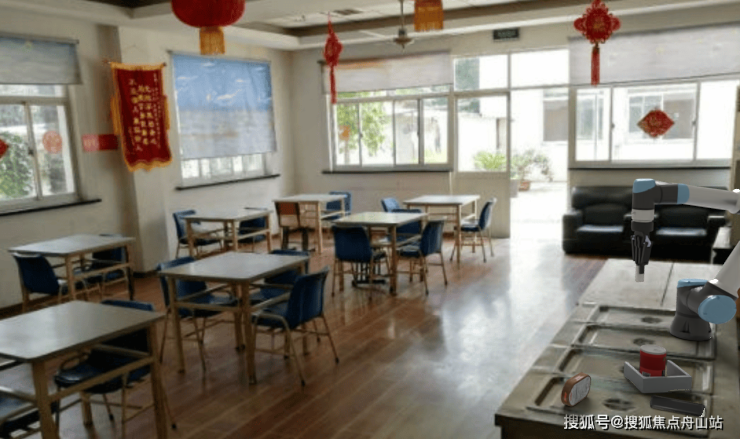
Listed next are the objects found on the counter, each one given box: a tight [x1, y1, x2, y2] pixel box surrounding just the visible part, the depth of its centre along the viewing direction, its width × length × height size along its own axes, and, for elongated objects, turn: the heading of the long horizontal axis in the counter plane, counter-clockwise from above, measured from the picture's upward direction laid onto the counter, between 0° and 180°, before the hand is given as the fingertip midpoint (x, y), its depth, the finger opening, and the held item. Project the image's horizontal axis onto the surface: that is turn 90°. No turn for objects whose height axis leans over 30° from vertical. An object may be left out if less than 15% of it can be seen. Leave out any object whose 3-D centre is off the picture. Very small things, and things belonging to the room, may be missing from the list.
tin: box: [560, 371, 592, 407], centre depth 187 cm, size 15×3×8 cm, turn 133°
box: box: [623, 359, 693, 394], centre depth 198 cm, size 16×14×5 cm
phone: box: [649, 394, 706, 418], centre depth 182 cm, size 8×1×15 cm
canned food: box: [638, 344, 667, 377], centre depth 201 cm, size 8×8×11 cm
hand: (639, 281), depth 226 cm, fingers closed
